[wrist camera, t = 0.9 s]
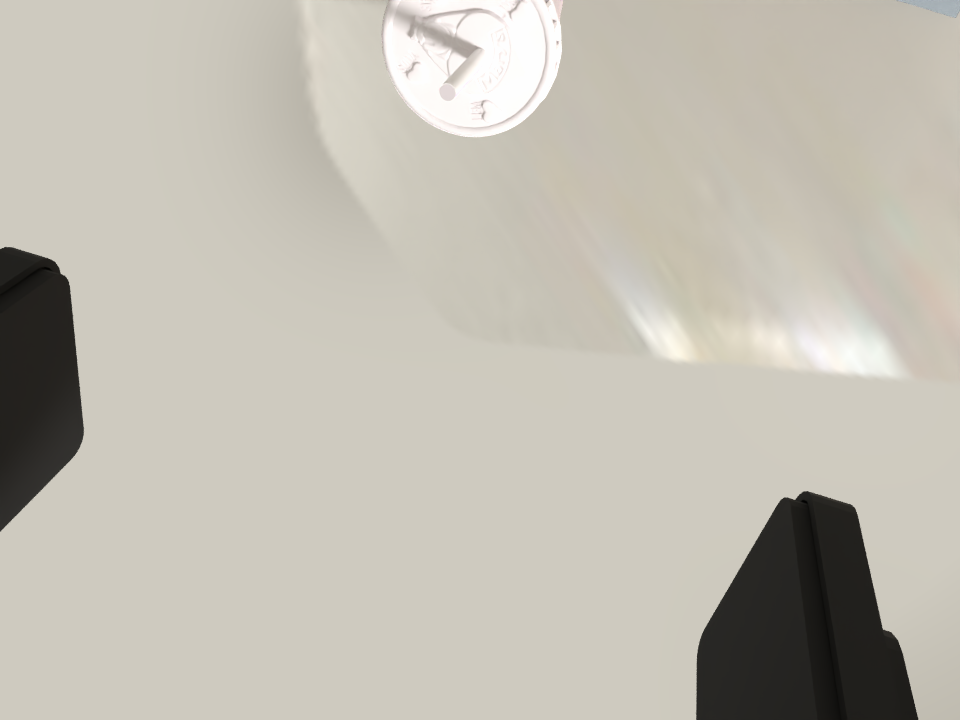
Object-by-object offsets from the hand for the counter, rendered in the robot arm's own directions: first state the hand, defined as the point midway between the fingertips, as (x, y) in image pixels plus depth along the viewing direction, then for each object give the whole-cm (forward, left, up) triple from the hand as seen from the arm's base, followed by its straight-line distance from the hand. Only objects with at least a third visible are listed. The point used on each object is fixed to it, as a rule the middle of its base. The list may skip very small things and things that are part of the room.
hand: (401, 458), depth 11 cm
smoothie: (+2, -4, -31) cm, 31 cm away
